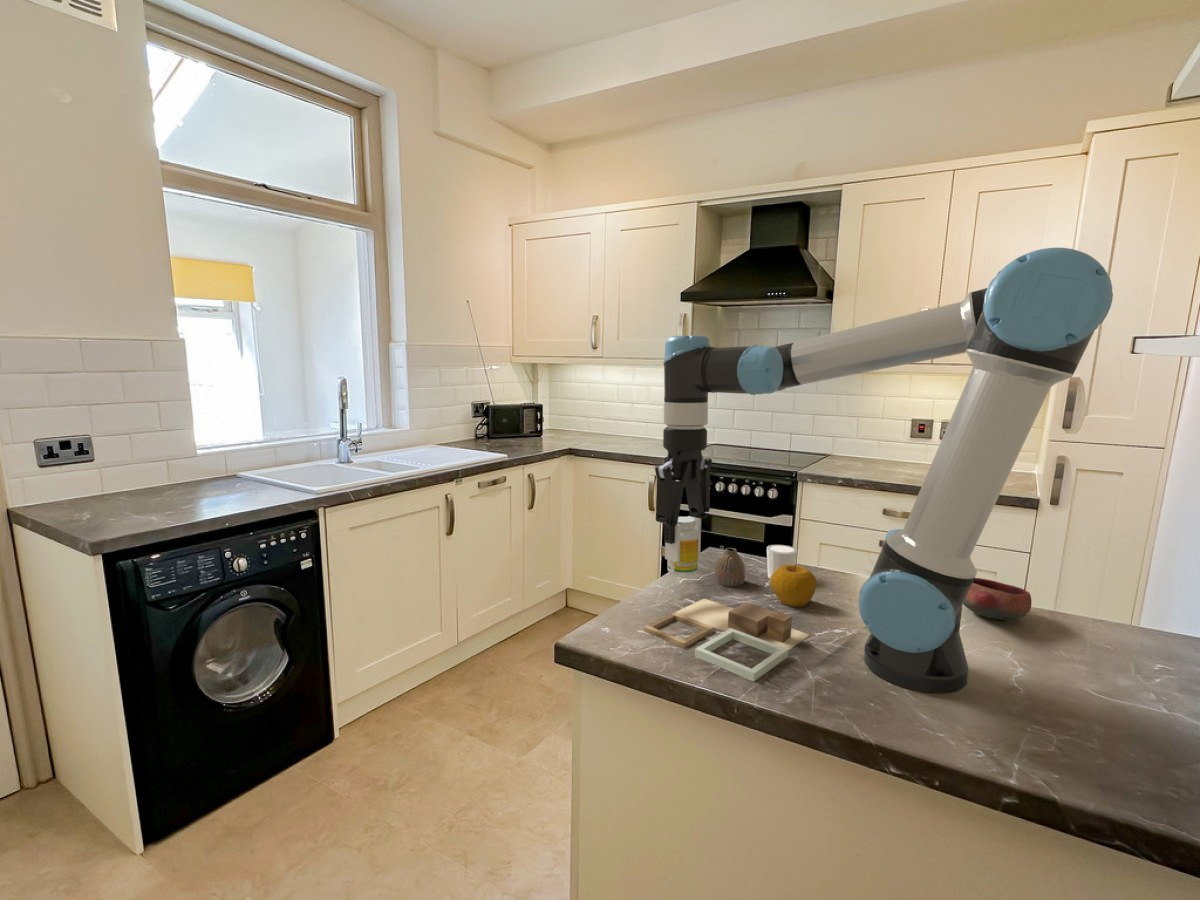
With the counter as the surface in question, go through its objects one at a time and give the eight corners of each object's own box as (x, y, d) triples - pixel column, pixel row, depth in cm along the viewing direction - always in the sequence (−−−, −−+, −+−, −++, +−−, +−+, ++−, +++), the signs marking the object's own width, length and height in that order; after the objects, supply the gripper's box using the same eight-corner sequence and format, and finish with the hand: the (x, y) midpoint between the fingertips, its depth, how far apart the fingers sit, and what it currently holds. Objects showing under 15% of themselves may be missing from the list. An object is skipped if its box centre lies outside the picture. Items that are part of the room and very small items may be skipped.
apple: (760, 605, 122) (762, 564, 121) (783, 594, 128) (785, 555, 127) (800, 620, 115) (803, 576, 114) (823, 607, 121) (825, 565, 120)
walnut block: (773, 627, 109) (774, 611, 109) (756, 637, 105) (757, 621, 105) (744, 617, 114) (745, 602, 113) (727, 626, 109) (728, 611, 109)
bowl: (945, 600, 126) (948, 565, 125) (1014, 607, 123) (1018, 571, 121) (971, 633, 110) (975, 593, 109) (1050, 642, 107) (1055, 601, 106)
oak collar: (713, 637, 108) (713, 627, 107) (683, 654, 101) (683, 643, 101) (673, 622, 114) (674, 612, 114) (643, 637, 107) (643, 626, 107)
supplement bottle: (661, 570, 106) (661, 518, 104) (681, 564, 109) (682, 514, 108) (683, 578, 102) (684, 524, 100) (703, 572, 105) (705, 519, 104)
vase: (726, 579, 137) (728, 542, 136) (751, 588, 132) (753, 550, 130) (707, 586, 133) (708, 548, 131) (731, 595, 127) (733, 556, 126)
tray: (787, 663, 99) (788, 649, 98) (753, 688, 91) (754, 673, 90) (730, 641, 106) (730, 628, 106) (694, 662, 98) (695, 648, 98)
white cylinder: (775, 570, 143) (777, 542, 142) (801, 578, 138) (803, 549, 137) (759, 576, 139) (760, 547, 138) (784, 585, 134) (786, 555, 133)
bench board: (809, 641, 107) (811, 613, 106) (783, 660, 100) (784, 631, 99) (703, 603, 123) (704, 580, 122) (674, 618, 116) (675, 592, 115)
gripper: (698, 421, 111) (695, 541, 114) (633, 429, 98) (633, 563, 101) (732, 424, 106) (729, 549, 109) (669, 432, 93) (667, 574, 96)
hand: (682, 556), depth 105 cm, fingers closed on supplement bottle, 5 cm apart
